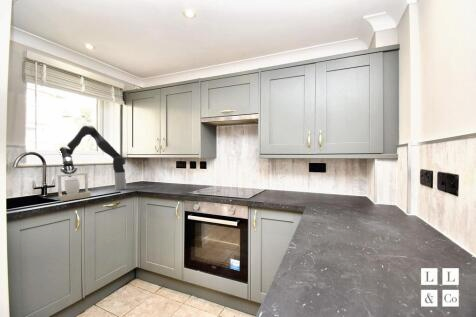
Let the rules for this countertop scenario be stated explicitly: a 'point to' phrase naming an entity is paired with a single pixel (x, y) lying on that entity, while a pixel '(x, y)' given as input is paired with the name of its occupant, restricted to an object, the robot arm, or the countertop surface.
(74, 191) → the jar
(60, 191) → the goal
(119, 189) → the robot arm
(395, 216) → the countertop surface
